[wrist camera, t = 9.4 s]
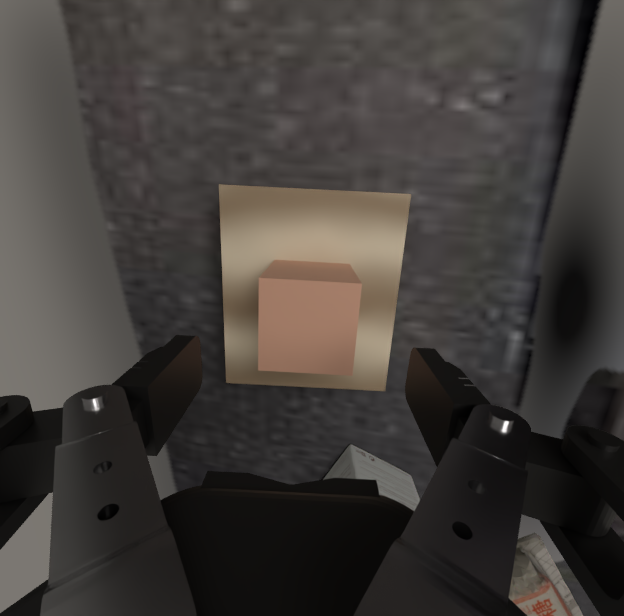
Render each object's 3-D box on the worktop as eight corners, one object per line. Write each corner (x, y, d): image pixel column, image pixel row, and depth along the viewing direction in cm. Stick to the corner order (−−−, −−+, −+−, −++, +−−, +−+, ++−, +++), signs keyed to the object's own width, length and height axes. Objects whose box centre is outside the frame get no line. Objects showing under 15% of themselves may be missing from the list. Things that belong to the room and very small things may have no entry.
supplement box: (370, 521, 33) (402, 701, 21) (310, 491, 32) (306, 663, 20) (413, 473, 31) (475, 641, 19) (350, 440, 30) (373, 595, 18)
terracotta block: (274, 259, 21) (258, 277, 15) (349, 263, 21) (361, 283, 15) (273, 329, 22) (258, 370, 17) (343, 333, 22) (352, 375, 17)
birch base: (234, 188, 23) (218, 184, 20) (395, 197, 23) (410, 194, 20) (238, 359, 27) (226, 382, 24) (375, 366, 27) (384, 391, 24)
